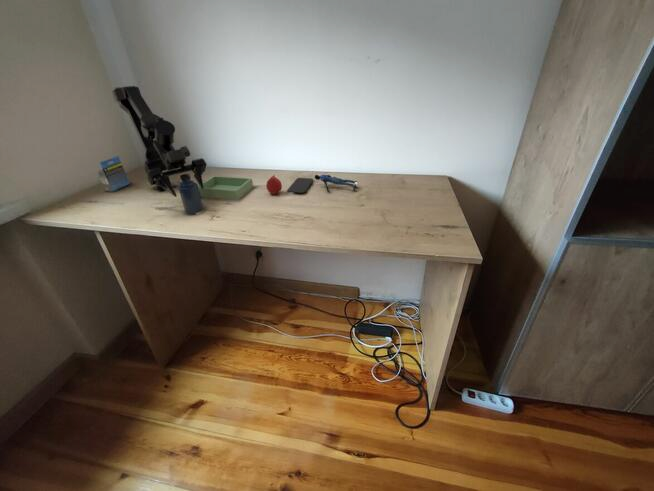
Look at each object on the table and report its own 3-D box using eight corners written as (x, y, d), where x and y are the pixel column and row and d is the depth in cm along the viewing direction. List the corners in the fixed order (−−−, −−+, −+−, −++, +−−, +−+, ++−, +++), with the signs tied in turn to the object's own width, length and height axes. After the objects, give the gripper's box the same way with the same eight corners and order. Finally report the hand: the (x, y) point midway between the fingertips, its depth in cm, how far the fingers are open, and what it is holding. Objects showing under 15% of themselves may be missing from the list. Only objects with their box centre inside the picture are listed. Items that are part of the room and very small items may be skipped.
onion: (279, 198, 113) (277, 178, 108) (265, 197, 114) (262, 177, 109) (284, 192, 117) (282, 173, 113) (270, 191, 118) (268, 172, 114)
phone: (286, 191, 116) (297, 177, 128) (286, 193, 117) (297, 179, 129) (304, 192, 115) (313, 178, 127) (304, 194, 115) (314, 180, 127)
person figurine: (358, 188, 124) (317, 179, 126) (360, 177, 121) (318, 169, 124) (354, 198, 115) (310, 188, 117) (356, 187, 112) (311, 178, 115)
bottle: (185, 208, 107) (175, 173, 100) (204, 205, 108) (194, 171, 101) (185, 216, 102) (174, 180, 95) (204, 213, 103) (194, 177, 96)
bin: (197, 197, 115) (195, 187, 113) (216, 185, 126) (214, 175, 123) (238, 201, 111) (236, 190, 109) (253, 188, 122) (251, 178, 120)
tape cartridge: (123, 183, 130) (111, 155, 123) (130, 184, 129) (119, 155, 122) (105, 191, 122) (92, 161, 116) (113, 192, 122) (99, 162, 115)
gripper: (137, 144, 90) (161, 188, 89) (197, 134, 100) (219, 173, 100) (139, 164, 99) (161, 204, 98) (194, 152, 110) (214, 189, 109)
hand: (189, 192), depth 101 cm, fingers open, 9 cm apart
